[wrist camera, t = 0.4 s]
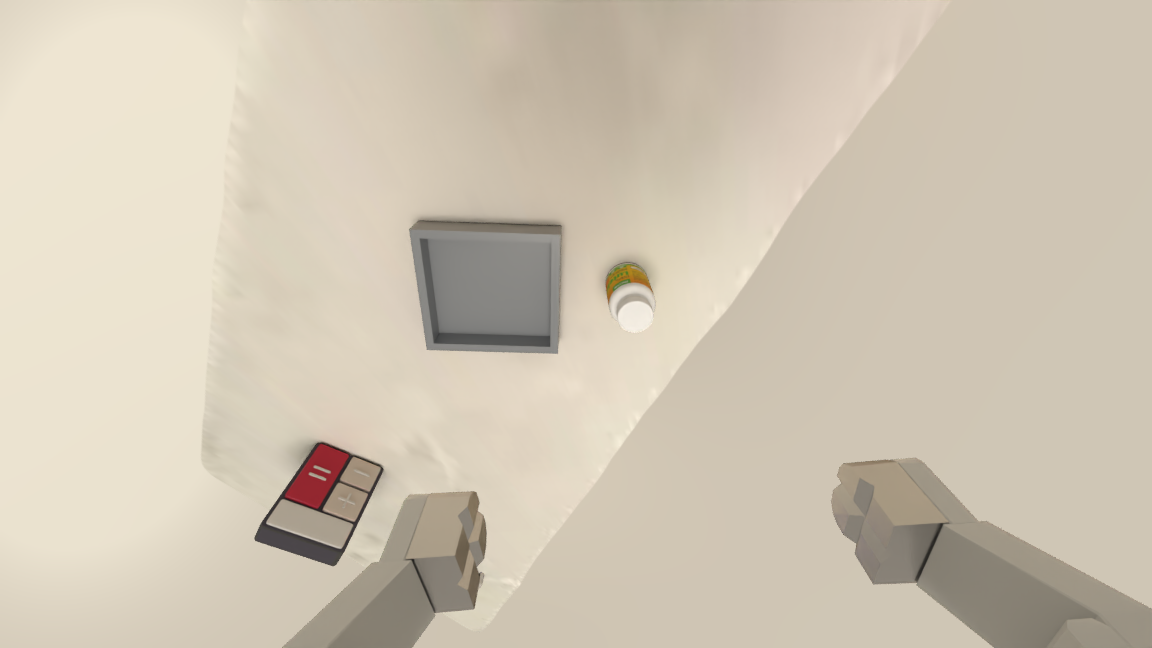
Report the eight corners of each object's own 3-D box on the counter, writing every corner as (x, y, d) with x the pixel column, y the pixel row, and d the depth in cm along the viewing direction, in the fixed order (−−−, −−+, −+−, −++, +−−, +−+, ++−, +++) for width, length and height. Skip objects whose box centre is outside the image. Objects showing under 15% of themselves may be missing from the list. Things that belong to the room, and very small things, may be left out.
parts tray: (418, 220, 53) (409, 229, 50) (561, 225, 53) (560, 234, 50) (434, 336, 61) (426, 349, 58) (558, 339, 61) (557, 353, 58)
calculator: (386, 465, 73) (345, 550, 60) (376, 481, 74) (334, 567, 61) (319, 438, 70) (260, 522, 57) (311, 455, 72) (252, 540, 58)
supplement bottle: (623, 253, 55) (632, 285, 47) (656, 277, 57) (670, 312, 48) (596, 285, 57) (600, 322, 49) (629, 307, 59) (638, 346, 50)
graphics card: (465, 590, 90) (461, 605, 87) (461, 588, 90) (458, 604, 87) (484, 572, 87) (481, 587, 85) (481, 571, 87) (478, 586, 84)
